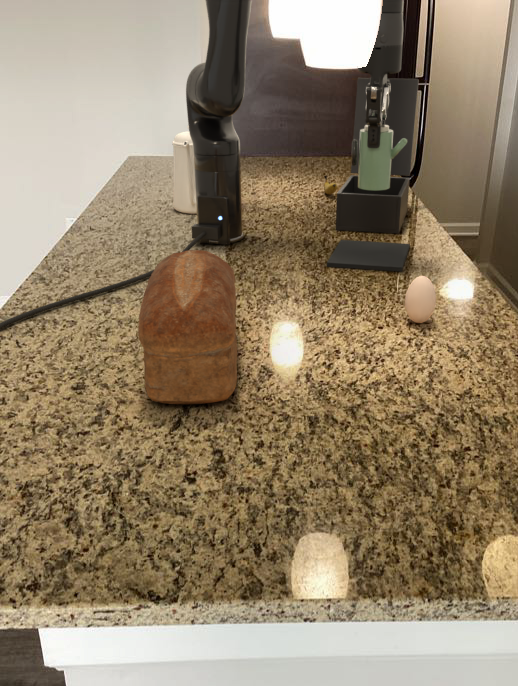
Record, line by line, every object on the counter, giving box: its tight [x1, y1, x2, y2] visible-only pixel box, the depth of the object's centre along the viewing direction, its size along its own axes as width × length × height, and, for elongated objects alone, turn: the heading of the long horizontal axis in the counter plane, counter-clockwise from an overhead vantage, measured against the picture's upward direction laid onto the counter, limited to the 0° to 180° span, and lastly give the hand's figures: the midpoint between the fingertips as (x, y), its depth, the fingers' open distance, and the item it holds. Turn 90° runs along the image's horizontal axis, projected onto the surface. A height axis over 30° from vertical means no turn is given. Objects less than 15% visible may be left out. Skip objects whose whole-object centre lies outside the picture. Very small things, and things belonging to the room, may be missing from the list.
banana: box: [323, 175, 338, 196], centre depth 198 cm, size 10×2×4 cm, turn 10°
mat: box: [326, 239, 411, 273], centre depth 152 cm, size 16×14×1 cm
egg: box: [404, 275, 437, 324], centre depth 120 cm, size 5×5×7 cm
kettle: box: [350, 124, 407, 191], centre depth 144 cm, size 10×6×12 cm, turn 78°
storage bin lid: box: [350, 77, 420, 177], centre depth 179 cm, size 20×14×1 cm
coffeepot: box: [172, 125, 197, 215], centre depth 181 cm, size 11×25×19 cm, turn 179°
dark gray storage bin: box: [335, 174, 410, 234], centre depth 175 cm, size 20×14×8 cm
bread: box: [137, 249, 238, 405], centre depth 105 cm, size 12×31×14 cm, turn 4°
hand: (375, 144), depth 143 cm, fingers closed on kettle, 6 cm apart
